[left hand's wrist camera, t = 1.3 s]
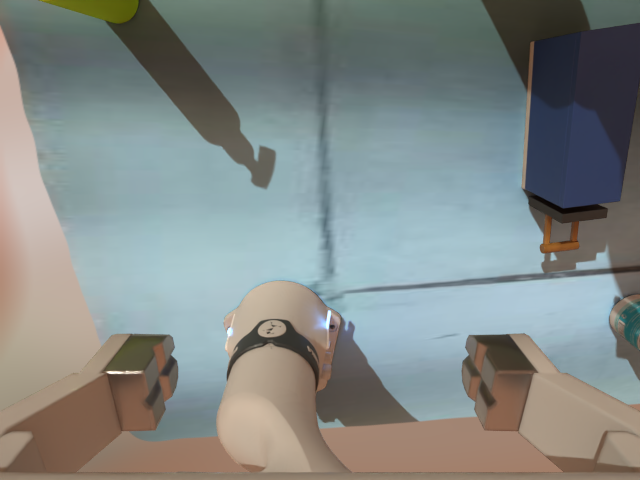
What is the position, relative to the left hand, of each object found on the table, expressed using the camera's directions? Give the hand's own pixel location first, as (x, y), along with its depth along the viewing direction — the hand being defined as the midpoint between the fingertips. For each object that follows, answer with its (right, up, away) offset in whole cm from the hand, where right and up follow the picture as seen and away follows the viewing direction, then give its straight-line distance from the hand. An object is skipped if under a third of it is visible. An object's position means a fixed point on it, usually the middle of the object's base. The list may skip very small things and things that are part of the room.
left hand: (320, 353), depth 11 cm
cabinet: (+30, +19, +40) cm, 54 cm away
